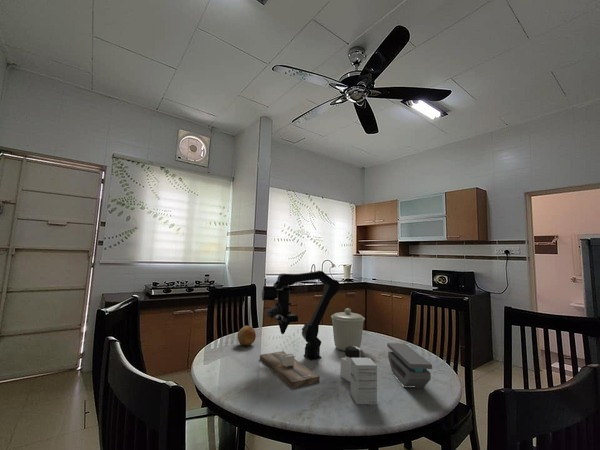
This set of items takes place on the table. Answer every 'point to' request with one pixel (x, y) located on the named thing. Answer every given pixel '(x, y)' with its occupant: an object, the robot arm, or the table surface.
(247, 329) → the onion
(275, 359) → the board
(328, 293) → the robot arm
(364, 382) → the supplement box
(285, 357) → the fader tab
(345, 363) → the medicine bottle
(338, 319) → the canister
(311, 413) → the table surface
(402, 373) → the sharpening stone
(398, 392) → the table surface
